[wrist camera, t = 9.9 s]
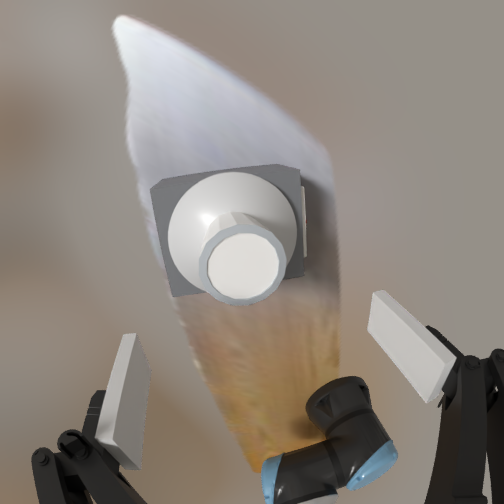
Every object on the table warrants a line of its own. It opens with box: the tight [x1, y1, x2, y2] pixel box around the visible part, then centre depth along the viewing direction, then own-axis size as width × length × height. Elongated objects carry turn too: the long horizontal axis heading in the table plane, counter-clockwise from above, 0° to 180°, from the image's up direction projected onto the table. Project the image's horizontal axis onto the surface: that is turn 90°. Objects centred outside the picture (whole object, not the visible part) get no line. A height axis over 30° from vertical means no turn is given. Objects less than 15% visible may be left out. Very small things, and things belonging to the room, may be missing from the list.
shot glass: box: [199, 212, 287, 305], centre depth 24 cm, size 7×7×7 cm
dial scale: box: [150, 164, 307, 297], centre depth 32 cm, size 13×16×10 cm
